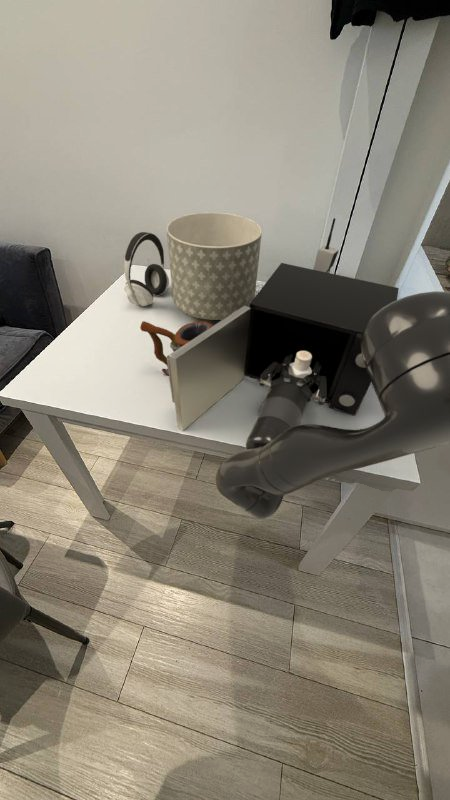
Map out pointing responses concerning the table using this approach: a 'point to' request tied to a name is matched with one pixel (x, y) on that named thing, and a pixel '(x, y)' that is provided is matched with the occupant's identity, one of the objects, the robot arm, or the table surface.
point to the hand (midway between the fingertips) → (303, 361)
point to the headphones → (153, 275)
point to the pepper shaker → (301, 365)
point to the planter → (213, 263)
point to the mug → (173, 337)
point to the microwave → (316, 328)
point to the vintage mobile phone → (326, 255)
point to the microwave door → (208, 366)
